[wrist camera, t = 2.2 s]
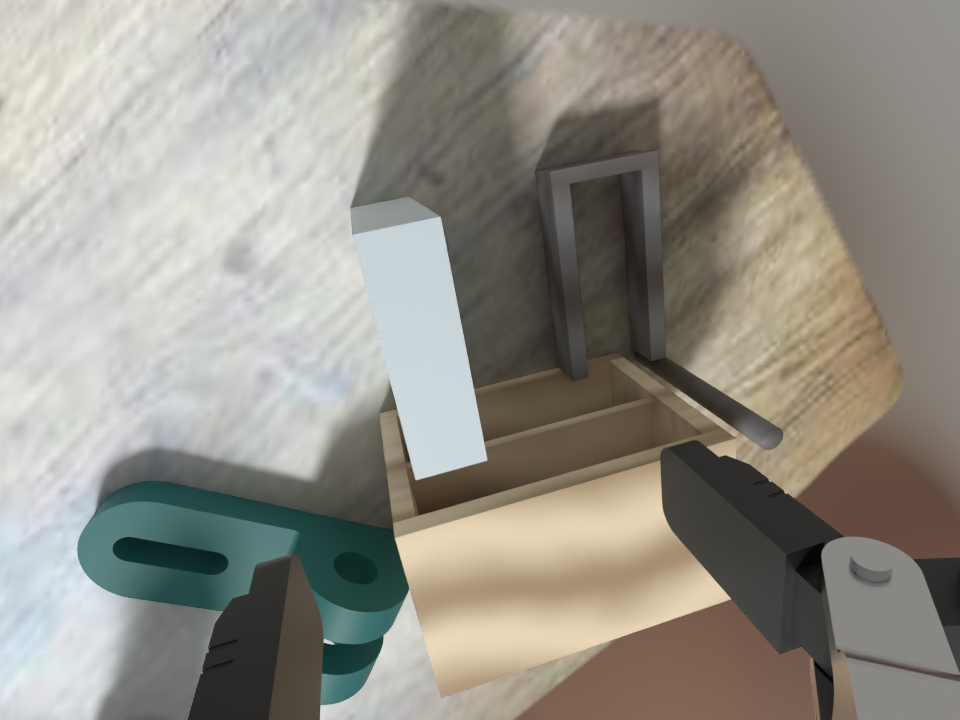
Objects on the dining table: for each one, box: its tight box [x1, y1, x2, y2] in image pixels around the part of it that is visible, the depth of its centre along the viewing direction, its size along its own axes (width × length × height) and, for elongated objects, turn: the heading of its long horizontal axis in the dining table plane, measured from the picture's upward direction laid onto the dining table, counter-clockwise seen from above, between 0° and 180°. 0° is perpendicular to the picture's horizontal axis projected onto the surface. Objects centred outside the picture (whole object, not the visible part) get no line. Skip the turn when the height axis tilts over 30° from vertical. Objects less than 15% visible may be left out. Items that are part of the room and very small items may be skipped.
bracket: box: [77, 481, 409, 705], centre depth 31 cm, size 18×7×8 cm, turn 65°
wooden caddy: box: [379, 150, 783, 698], centre depth 29 cm, size 22×18×12 cm
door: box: [350, 196, 488, 480], centre depth 26 cm, size 10×4×11 cm, turn 9°
